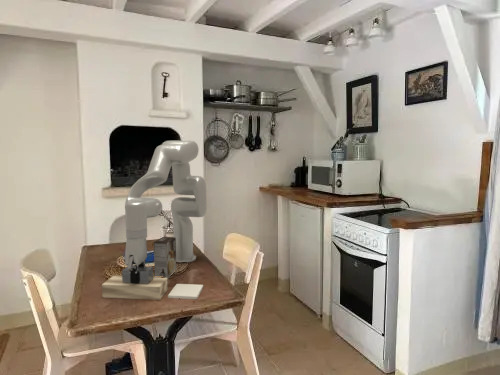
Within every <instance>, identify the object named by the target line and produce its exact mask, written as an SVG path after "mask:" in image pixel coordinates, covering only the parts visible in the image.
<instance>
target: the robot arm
mask: <svg viewBox="0 0 500 375" xmlns="http://www.w3.org/2000/svg"><path fill="white" fill-rule="evenodd" d="M197 156H199V145H198V143H197V142H196V141H194V140H165V141H164V142H162V143H161V144H160V145H158V146H156V148H155V149H154V152H153V155H152V157H151V160H150V163H149V166H148V169H147V172H146V174H144V175H143V176H142V177H140V178H139V179H137V181H136V182H134V184H132V185H131V188H130V189H129V191H128V194H127V196H126V198H125V204H124V210H125V211H124V214H125V238H126V240H125V241H126V242H125V252H124V253H125V256H124V258H125V260H124V264H125V266H128V270H129V271H130V282H131V283H139V273H138V266H145V267H146V259H147V257H148V244H147V238H148V221H147V220H148V218H149V219H150V218H151V219H152V218H155V217H158V216H159V215H160V214H161V213H162V210H163V203H162V202H161V201H160V199H157V198H154V197H142V195H143V194H144V193H145V192H147V191H148V190H150V189H153V188H155V187H157V186H160V185H162V184H164V183H166V182H167V180H168V178H169V174H170V171H171V169H172V171H171V172H172V186H173V192H174V193H175V194H177V195H180V197H176V198H173V199H172V201H170V202H171V203H170V210H171V216H172V224H173V225H172V229H173V230H172V231H173V237H175V238H176V262H187V264H188V263H192V262H195V261H196V260H197V255H195V254H194V228H193V227H194V224H193V222H192V219H191V218H203V217H204V216H205V215H206V214H207V213H206V212H207V205H208V204H207V184H206V180H205V178H204V177H202V176H199V175H192V174H191V164H190V162H192V161H194V160H195V159H196V158H197ZM189 196H194V197H189ZM133 266H135V267H136V269H135V268H133Z"/></svg>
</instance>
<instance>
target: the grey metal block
mask: <svg viewBox="0 0 500 375" xmlns="http://www.w3.org/2000/svg"><path fill="white" fill-rule="evenodd" d="M133 268H135V269H136V267H135V266H133ZM138 273H139V283H131V282H130V271H129V270H128V265H126V267H124V268H123V269H122V270H121V276H122V281H123V283H130V284H149V283H150V282H151V281H152V280H153V277H154V266H146V265H145V266H138Z"/></svg>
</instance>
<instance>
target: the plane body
mask: <svg viewBox="0 0 500 375" xmlns="http://www.w3.org/2000/svg"><path fill="white" fill-rule="evenodd" d="M168 284H169V283H168V279H167V278H161V277H155V276H153V280H152V281H151V282H150V283H149V284H130V283H123V281H122V275H112V276H111V277H109V279H107V280H106V281H104V283H102V284H101V289H102V290H101V291H102V294H101V295H102V298H106V299H107V298H110V299H111V298H112V299H127V300H129V299H131V300H153V301H161V299H162V298H163V297H164V295H165V294H166V292H167V291H168V286H169V285H168Z"/></svg>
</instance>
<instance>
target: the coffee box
mask: <svg viewBox="0 0 500 375" xmlns="http://www.w3.org/2000/svg"><path fill="white" fill-rule="evenodd" d="M153 257H154V258H153V261H154V266H153V268H154V277H155V276H163V277H165V278H167V280H169V279H170V278H171V277H172V276H171V274H172V273H173V272H174V271H175V270H176V271H177V263H176V238H175V237H171V236H163V237H160V238H158V239H157V240H155V241H153ZM170 276H171V277H170Z"/></svg>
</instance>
